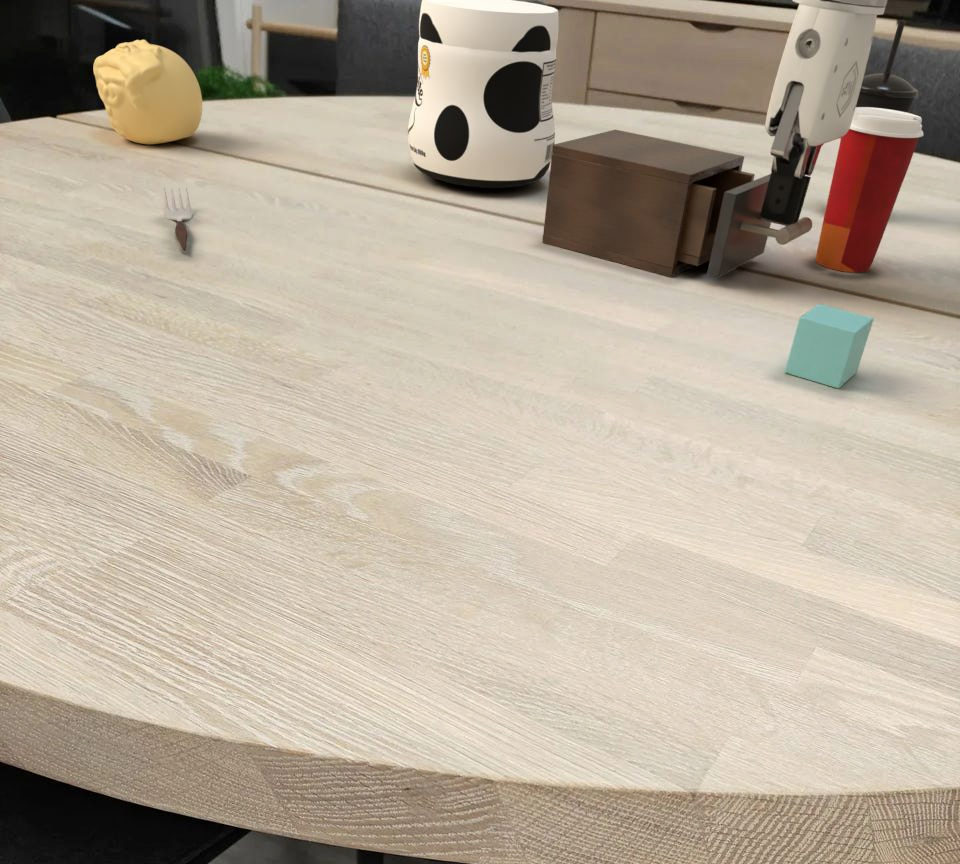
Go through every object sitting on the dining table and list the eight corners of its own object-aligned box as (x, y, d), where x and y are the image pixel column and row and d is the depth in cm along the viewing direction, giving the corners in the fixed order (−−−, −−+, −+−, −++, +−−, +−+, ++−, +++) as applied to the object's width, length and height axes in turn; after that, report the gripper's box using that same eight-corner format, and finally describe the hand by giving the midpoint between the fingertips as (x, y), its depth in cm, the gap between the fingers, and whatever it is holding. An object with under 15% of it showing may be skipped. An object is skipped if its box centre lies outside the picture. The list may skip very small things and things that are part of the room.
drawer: (810, 264, 99) (831, 186, 94) (767, 290, 91) (788, 206, 86) (645, 223, 106) (658, 149, 102) (593, 244, 99) (604, 164, 94)
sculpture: (88, 133, 124) (73, 33, 117) (176, 127, 131) (166, 31, 124) (132, 153, 118) (118, 48, 111) (222, 145, 124) (214, 45, 118)
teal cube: (803, 357, 80) (819, 303, 78) (856, 372, 79) (874, 317, 76) (784, 372, 77) (799, 316, 75) (838, 389, 76) (856, 332, 73)
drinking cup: (813, 215, 119) (865, 19, 106) (817, 201, 124) (867, 14, 112) (879, 225, 117) (940, 27, 105) (880, 210, 123) (937, 22, 111)
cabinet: (724, 251, 103) (744, 156, 98) (671, 277, 95) (690, 174, 89) (602, 220, 110) (615, 129, 104) (542, 242, 101) (552, 144, 95)
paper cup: (884, 262, 105) (931, 114, 96) (875, 281, 99) (924, 125, 90) (810, 247, 107) (849, 102, 98) (797, 265, 101) (837, 112, 93)
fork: (169, 256, 89) (167, 233, 88) (164, 208, 101) (161, 187, 100) (199, 256, 90) (197, 233, 88) (190, 208, 102) (188, 187, 100)
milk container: (388, 163, 124) (391, -9, 113) (516, 162, 129) (531, -2, 118) (434, 200, 111) (442, 10, 100) (573, 197, 117) (595, 17, 106)
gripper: (858, -5, 75) (786, 245, 86) (913, -7, 85) (843, 217, 96) (766, -20, 78) (708, 223, 89) (829, -20, 88) (771, 198, 99)
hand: (778, 219), depth 93 cm, fingers closed
